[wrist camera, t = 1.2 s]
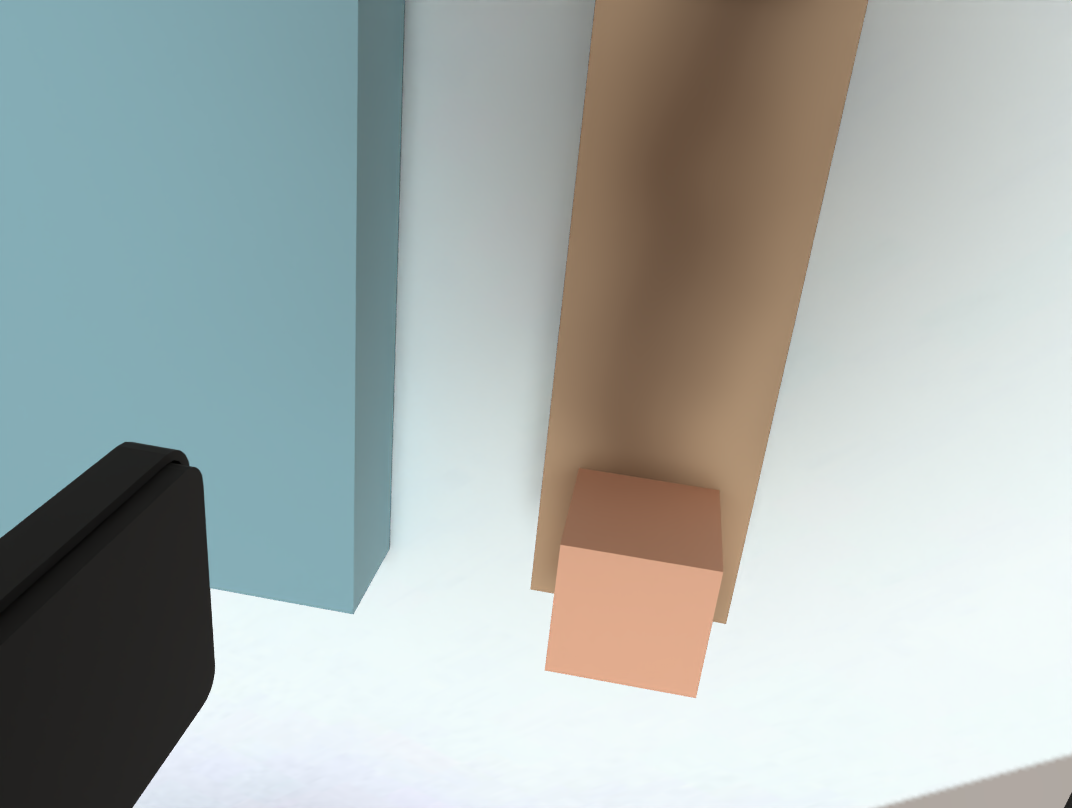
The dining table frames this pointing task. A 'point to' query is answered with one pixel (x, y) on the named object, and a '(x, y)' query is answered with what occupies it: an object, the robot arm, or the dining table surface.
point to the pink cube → (636, 582)
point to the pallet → (690, 245)
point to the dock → (208, 268)
